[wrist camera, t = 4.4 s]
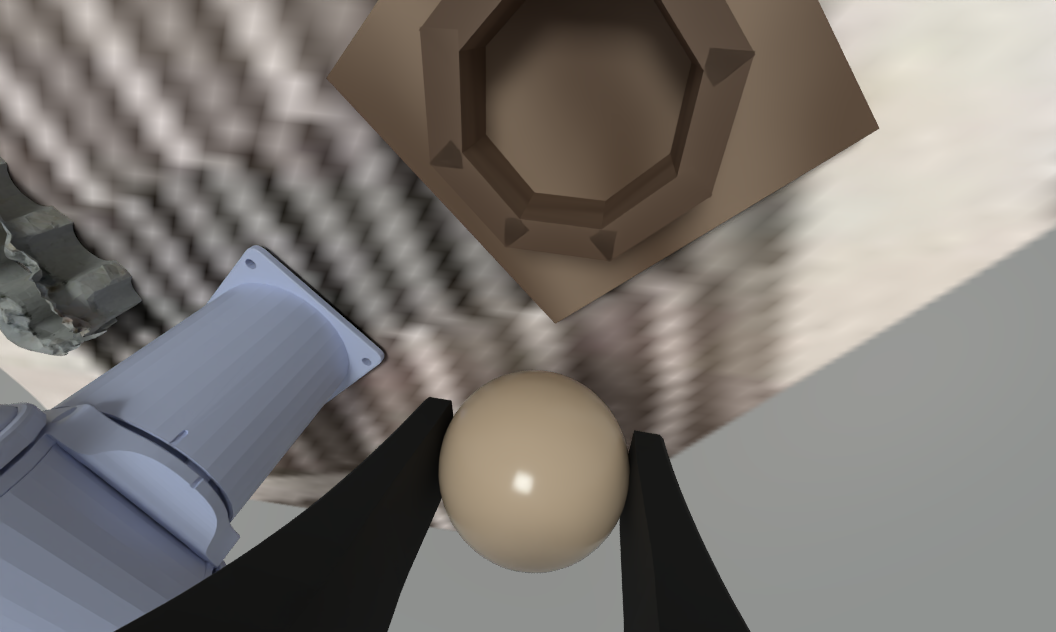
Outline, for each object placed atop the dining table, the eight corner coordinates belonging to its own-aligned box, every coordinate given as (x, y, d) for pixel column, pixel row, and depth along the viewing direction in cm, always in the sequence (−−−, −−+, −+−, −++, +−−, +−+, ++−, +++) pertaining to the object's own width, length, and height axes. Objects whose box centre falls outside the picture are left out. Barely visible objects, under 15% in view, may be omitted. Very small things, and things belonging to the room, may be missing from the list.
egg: (538, 466, 14) (506, 622, 11) (441, 377, 13) (363, 522, 9) (662, 420, 12) (676, 598, 8) (561, 304, 11) (523, 459, 7)
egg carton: (164, 296, 24) (89, 341, 21) (103, 333, 27) (30, 378, 24) (-33, 108, 19) (-170, 127, 16) (-80, 179, 22) (-202, 208, 19)
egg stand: (558, 310, 19) (545, 361, 16) (342, 75, 15) (276, 87, 12) (863, 121, 13) (929, 150, 10) (633, -348, 9) (635, -513, 6)
